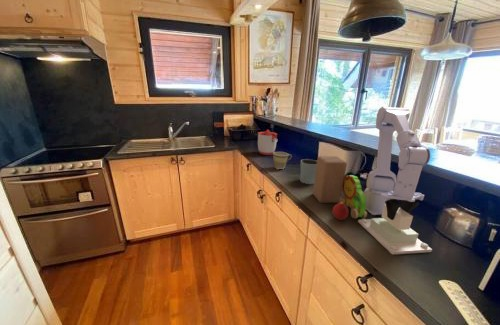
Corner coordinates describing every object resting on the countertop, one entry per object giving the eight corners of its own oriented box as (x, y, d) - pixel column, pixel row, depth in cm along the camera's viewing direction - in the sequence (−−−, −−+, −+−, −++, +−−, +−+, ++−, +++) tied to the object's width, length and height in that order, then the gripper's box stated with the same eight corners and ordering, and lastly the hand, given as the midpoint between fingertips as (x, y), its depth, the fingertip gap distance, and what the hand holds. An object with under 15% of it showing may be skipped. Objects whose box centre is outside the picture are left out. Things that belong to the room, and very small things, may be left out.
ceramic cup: (275, 170, 136) (276, 156, 133) (270, 165, 146) (271, 151, 143) (293, 170, 139) (295, 155, 136) (287, 165, 149) (289, 151, 146)
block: (340, 203, 98) (348, 162, 92) (319, 203, 97) (325, 162, 91) (331, 193, 107) (337, 155, 101) (311, 193, 107) (317, 155, 101)
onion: (342, 215, 88) (346, 198, 85) (349, 223, 82) (353, 205, 80) (329, 215, 88) (332, 198, 85) (334, 223, 82) (338, 205, 80)
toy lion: (366, 220, 86) (375, 185, 81) (354, 220, 85) (361, 185, 80) (346, 201, 101) (352, 171, 96) (335, 201, 100) (340, 171, 95)
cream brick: (381, 216, 78) (384, 204, 77) (391, 216, 79) (394, 204, 77) (398, 229, 71) (402, 216, 69) (409, 229, 71) (413, 216, 70)
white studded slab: (358, 221, 84) (360, 212, 83) (390, 220, 86) (392, 211, 84) (392, 254, 67) (395, 244, 66) (431, 251, 69) (435, 241, 68)
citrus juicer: (269, 157, 164) (271, 132, 158) (253, 153, 175) (254, 129, 169) (281, 154, 175) (283, 130, 169) (264, 150, 186) (266, 127, 180)
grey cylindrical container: (312, 186, 115) (315, 165, 112) (295, 181, 121) (297, 161, 117) (319, 180, 123) (321, 161, 119) (302, 176, 129) (305, 157, 125)
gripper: (395, 187, 65) (385, 225, 69) (437, 187, 67) (424, 223, 71) (379, 179, 72) (371, 214, 76) (417, 178, 74) (407, 212, 78)
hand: (396, 218), depth 74 cm, fingers closed on cream brick, 4 cm apart
